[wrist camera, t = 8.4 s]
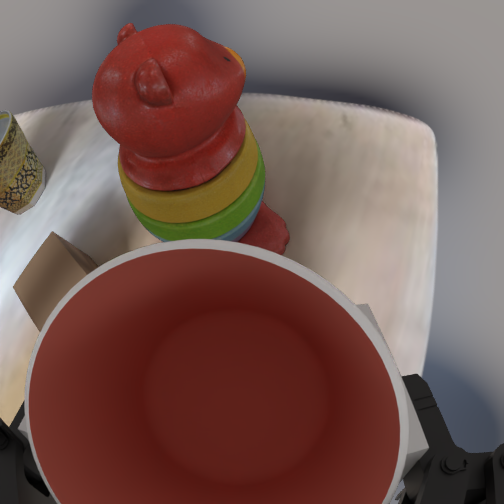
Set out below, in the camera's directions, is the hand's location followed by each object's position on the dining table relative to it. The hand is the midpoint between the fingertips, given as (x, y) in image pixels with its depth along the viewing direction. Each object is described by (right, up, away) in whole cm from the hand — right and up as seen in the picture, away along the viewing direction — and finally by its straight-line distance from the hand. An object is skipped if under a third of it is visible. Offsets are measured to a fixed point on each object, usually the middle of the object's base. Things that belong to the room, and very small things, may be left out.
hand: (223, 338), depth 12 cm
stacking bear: (-2, +6, +14) cm, 16 cm away
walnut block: (-14, -1, +13) cm, 19 cm away
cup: (0, -4, +3) cm, 5 cm away
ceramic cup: (-28, +12, +18) cm, 35 cm away
